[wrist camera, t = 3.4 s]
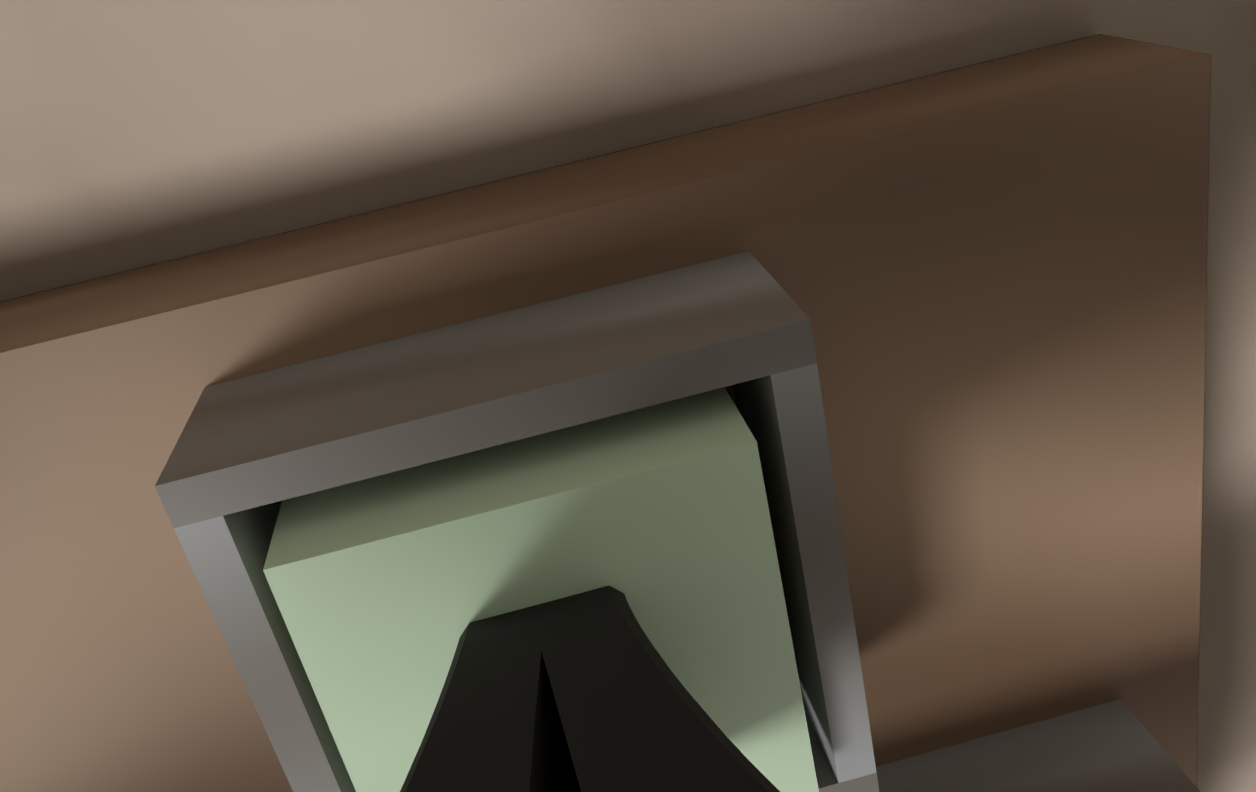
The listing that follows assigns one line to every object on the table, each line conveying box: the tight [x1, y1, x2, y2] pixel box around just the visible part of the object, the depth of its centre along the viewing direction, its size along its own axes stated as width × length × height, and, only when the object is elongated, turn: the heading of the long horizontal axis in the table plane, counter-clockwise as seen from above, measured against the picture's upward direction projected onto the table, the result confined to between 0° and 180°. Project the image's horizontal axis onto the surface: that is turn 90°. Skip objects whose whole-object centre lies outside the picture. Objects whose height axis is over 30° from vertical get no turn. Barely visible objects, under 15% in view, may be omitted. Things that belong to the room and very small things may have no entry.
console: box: [0, 34, 1211, 792], centre depth 13 cm, size 14×15×4 cm
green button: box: [263, 387, 819, 792], centre depth 11 cm, size 4×4×2 cm
